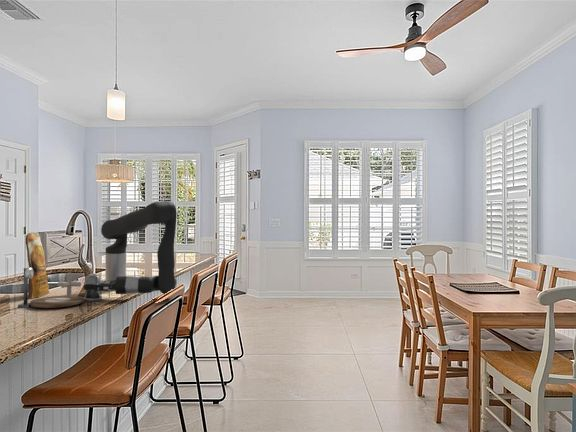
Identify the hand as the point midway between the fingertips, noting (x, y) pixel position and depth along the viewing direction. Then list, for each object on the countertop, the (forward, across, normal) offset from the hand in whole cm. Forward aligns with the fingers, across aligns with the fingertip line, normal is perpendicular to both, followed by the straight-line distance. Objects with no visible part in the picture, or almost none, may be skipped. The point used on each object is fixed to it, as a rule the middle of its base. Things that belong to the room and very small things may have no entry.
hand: (86, 285), depth 189 cm
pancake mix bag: (+24, -14, +6) cm, 29 cm away
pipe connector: (+10, -12, +6) cm, 17 cm away
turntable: (+8, +9, +6) cm, 14 cm away
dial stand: (+19, +11, +6) cm, 23 cm away
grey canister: (-3, 0, +6) cm, 7 cm away
